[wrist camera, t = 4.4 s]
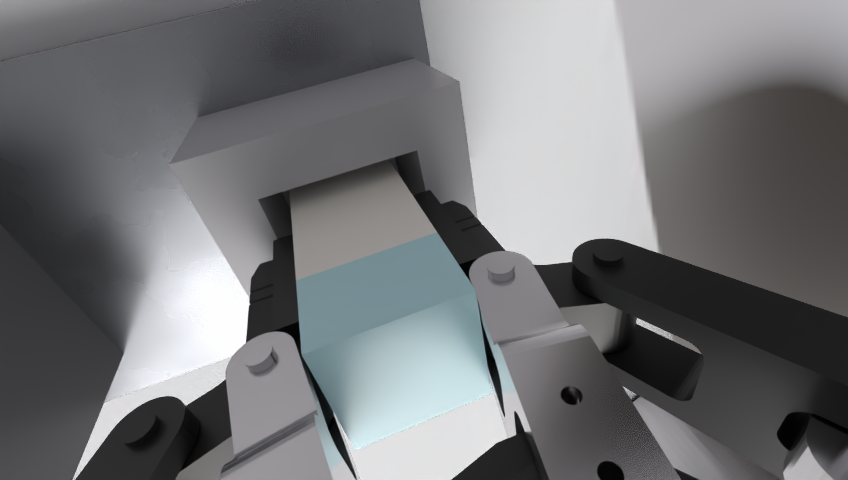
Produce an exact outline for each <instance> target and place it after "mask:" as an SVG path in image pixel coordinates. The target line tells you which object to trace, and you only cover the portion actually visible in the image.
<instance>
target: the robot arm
mask: <svg viewBox="0 0 848 480" xmlns="http://www.w3.org/2000/svg"><path fill="white" fill-rule="evenodd" d="M413 197H414V198H415V200H416V201H417V203H418V204H419V206H420V207H421V209H422V210H423V212H424V213H425V215H426V216H427V218H428V219H429V221H430V222H431V224H432V225H433V227H434V228H435V230H436V231H437V233H438V234H439V236H440V237H441V239H442V240H443V242H444V243H445V245H446V246H447V248H448V249H449V251H450V252H451V254H452V255H453V257H454V258H455V260H456V261H457V263H458V264H459V266H460V267H461V269H462V270H463V272H464V273H465V275H466V276H467V278H468V279H469V281H470V283H471V284H472V286H473V287H474V289H475V290H476V295H477V302H478V308H479V315H480V321H481V327H482V334H483V340H484V347H485V353H486V359H487V366H488V372H489V379H490V383H491V386H492V389H493V392H494V395H495V398H496V402H497V405H498V408H499V411H500V414H501V417H502V420H503V424H504V427H505V430H506V434H507V438H508V439H505V440H503V441H501V442H498V443H496V444H495V445H494V446H493V447H491V448H490V449H489V450H488V451H487V452H485V453H484V454H483V455H482V456H480V457H479V458H478V459H477V460H475V461H474V462H473V463H472V464H470V465H469V466H468V467H467V468H465V469H464V470H463V471H462V472H461V473H459V474H458V475H457V476H456V477H454V478H453V479H452V480H848V317H845V316H842V315H839V314H836V313H833V312H830V311H827V310H824V309H821V308H818V307H815V306H812V305H809V304H807V303H804V302H801V301H798V300H795V299H792V298H788V297H786V296H783V295H780V294H777V293H774V292H771V291H768V290H765V289H762V288H759V287H756V286H753V285H750V284H747V283H745V282H742V281H739V280H736V279H733V278H730V277H727V276H724V275H721V274H718V273H715V272H712V271H709V270H706V269H703V268H700V267H697V266H695V265H692V264H689V263H685V262H683V261H679V260H677V259H674V258H671V257H668V256H665V255H662V254H659V253H656V252H653V251H650V250H647V249H645V248H642V247H639V246H636V245H633V244H630V243H627V242H624V241H620V240H615V239H595V240H590V241H587V242H585V243H583V244H581V245H579V246H578V247H577V248H576V249H575V251H574V252H573V256H572V262H568V263H559V264H551V265H533V264H532V262H531V261H530V260H529V259H528V258H527V257H525V256H523V255H521V254H519V253H516V252H510V251H505V250H504V249H503V247H502V246H501V245H500V244H499V243H498V242H497V241H496V239H495V238H494V237H493V236H492V235H491V234H490V233H489V231H488V230H487V229H486V228H485V227H484V226H483V225H482V224H481V222H480V221H479V220H478V219H477V218H476V217H475V215H474V214H473V213H472V212H471V211H470V210H469V209H468V207H467V206H465V205H463V204H460V203H458V202H456V201H453V200H452V201H449V202H446V203H443V204H441V203H440V202H439V201H438V199H437V198H436V197H435V195H434V194H433V193H432V191H431V190H427V191H424V192H421V193H418V194H415V195H413ZM250 293H251V294H250V298H249V304H250V305H249V310H248V323H247V336H246V343H245V344H244V345H243V346H242V347H240V348H239V349H238V350H237V351H236V352H235V354H234V355H233V356H232V358H231V359H230V361H229V363H228V365H227V368H226V380H224V381H223V382H222V383H221V384H219V385H218V386H216V387H215V388H214V389H212V390H210V391H209V392H207V393H206V394H204V395H203V396H201V397H199V398H198V399H196V400H195V401H193V402H191V403H190V404H188V405H187V406H185V405H184V403H183V402H182V401H181V400H179V399H178V398H175V397H171V396H165V397H159V398H156V399H153V400H150V401H148V402H146V403H144V404H142V405H141V406H139V407H137V408H136V409H134V410H133V411H132V412H130V413H129V414H128V415H127V416H125V417H124V418H123V419H122V420H121V421H120V422H119V423H118V424H117V425H116V426H115V428H114V429H113V430H112V431H111V432H110V434H109V435H108V437H107V438H106V439H105V441H104V442H103V443H102V445H101V446H100V447H99V449H98V450H97V451H96V453H95V454H94V455H93V457H92V458H91V459H90V461H89V462H88V463H87V465H86V466H85V467H84V469H83V470H82V471H81V473H80V474H79V475H78V477H77V478H76V480H360V477H359V475H358V472H357V469H356V467H355V464H354V461H353V458H352V456H351V453H350V450H349V448H348V445H347V442H346V440H345V437H344V434H343V431H342V429H341V426H340V423H339V421H338V419H337V417H336V415H335V413H334V412H333V410H332V408H331V406H330V405H329V403H328V401H327V399H326V397H325V396H324V394H323V392H322V390H321V389H320V387H319V385H318V383H317V381H316V380H315V378H314V376H313V374H312V373H311V371H310V369H309V367H308V365H307V364H306V362H305V360H304V358H303V357H302V354H301V341H300V327H299V314H298V300H297V287H296V273H295V260H294V247H293V234H291V235H288V236H285V237H282V238H279V239H276V240H274V241H273V260H270V261H267V262H264V263H261V264H260V265H259V266H258V268H257V269H256V271H255V273H254V274H253V276H252V277H251V285H250ZM637 318H639V319H641V320H643V321H645V322H648V323H650V324H652V325H654V326H656V327H659V328H661V329H663V330H665V331H667V332H669V333H672V334H674V335H676V336H679V337H680V338H683V339H685V340H687V341H689V342H690V343H692V344H693V345H695V346H696V347H697V348H698V349H699V351H700V352H701V353H702V354H699V353H697V352H695V351H693V350H691V349H688V348H686V347H684V346H682V345H680V344H678V343H676V342H674V341H672V340H669V339H667V338H665V337H663V336H661V335H659V334H657V333H654V332H652V331H650V330H648V329H646V328H644V327H642V326H640V325H637V324H636V319H637ZM622 386H624V387H625V388H627V389H629V390H630V391H632V392H634V393H636V394H637V395H639V396H640V397H639V398H638V399H636V400H635V401H634V402H632V401H631V399H630V398H629V396H628V394H627V393H626V391H625V390H624V388H623V387H622Z"/></svg>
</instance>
